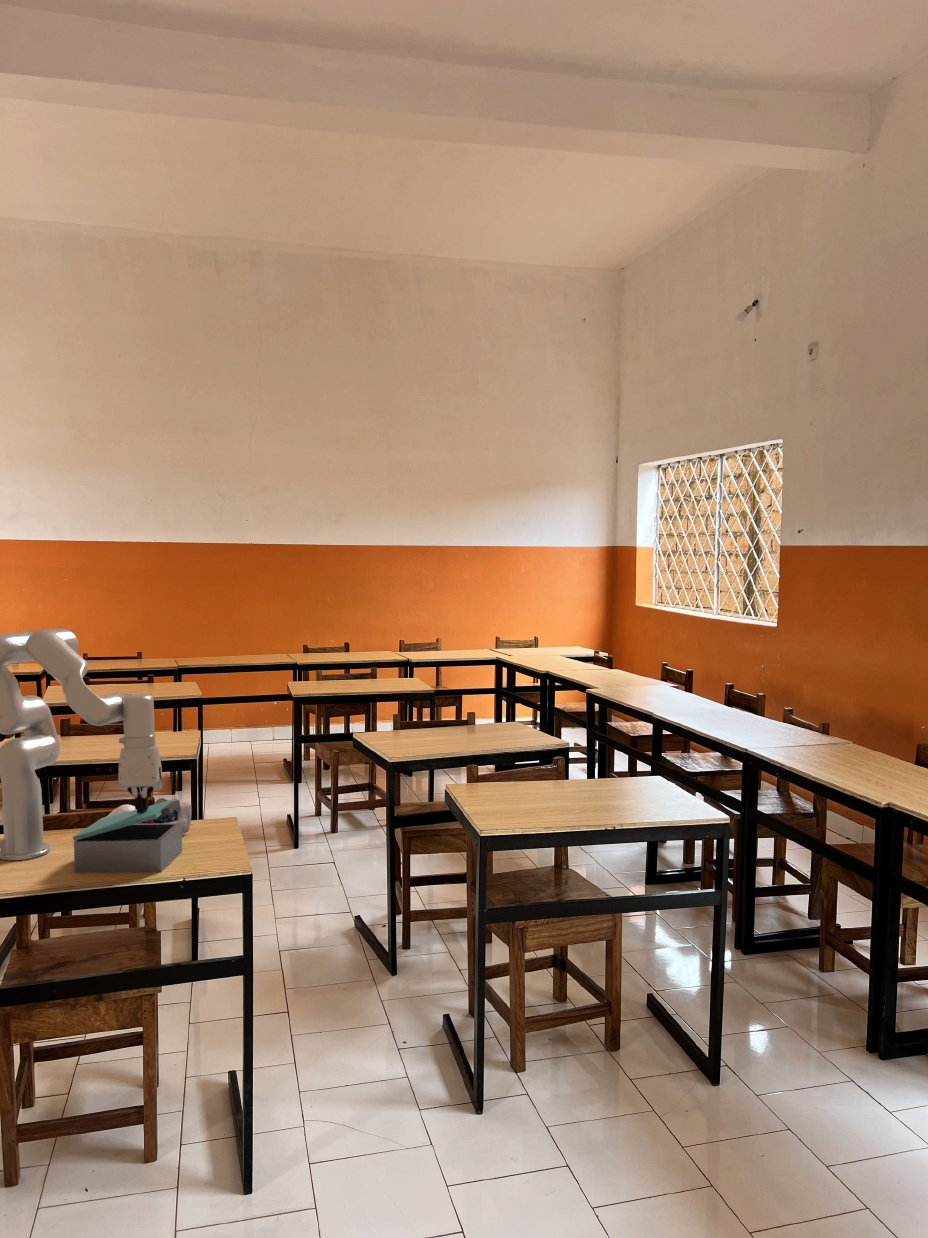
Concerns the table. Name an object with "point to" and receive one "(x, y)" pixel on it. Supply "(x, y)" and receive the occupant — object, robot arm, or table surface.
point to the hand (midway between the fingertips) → (142, 811)
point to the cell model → (174, 815)
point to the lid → (127, 819)
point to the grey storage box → (129, 849)
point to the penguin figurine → (121, 810)
